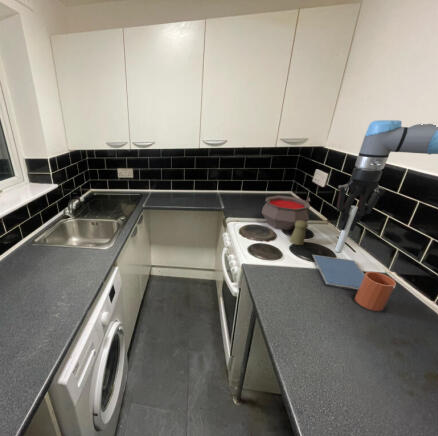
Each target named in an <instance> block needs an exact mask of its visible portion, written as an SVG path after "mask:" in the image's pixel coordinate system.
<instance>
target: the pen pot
mask: <svg viewBox="0 0 438 436" xmlns="http://www.w3.org/2000/svg"><path fill="white" fill-rule="evenodd" d="M364 274H365V275H364V277H363V279H362V282H361V284H360V286H359V289H358V291H356V294H355V296H354V301H355V302H356V303H357V304H358V305H359V306H361V307H363V308H364V309H367V310H370V311H374V312H381V311H383V310H384V309H385V307H386V305H387V303H388V301H389V299H390V298H391V296H392V293H393V292H394V290H395V288H396V286H397V281H395V280H394V279H393V278H391V277H390V276H389V275H386V274H383V273H381V272H376V271H366V272H364Z"/></svg>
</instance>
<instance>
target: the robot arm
mask: <svg viewBox="0 0 438 436" xmlns="http://www.w3.org/2000/svg"><path fill="white" fill-rule="evenodd" d="M402 123H403V122H402V120H395V119H392V120H390V119H387V120H386V119H383V120H382V119H380V120H373V121H371V122H370V123H369V124H368V127H367V129H366V131H365V134H364V137H363V140H362V143H361V146H360V149H359V152H358V155H357V158H356V160H355V164H354V168H353V169H352V173H351V175H350V179H349V181H347V183H346V184H343V185H342V184H339V185H337V189H338V196H337V197H338V198H337V202H336V211H338V212H339V213H340V215H339V221H340V224H339V226H338V228H339V229H340V230H341V231H342V230H344V229H345V226H346V224H347V221H348V218H349V214H348V211H349V209H350V208H351V206H353V203H354V201H355V200H356V198H357V197H358V196H359V200H358V203H357V207H358V209H357V212H356V214H355V217H354V220H353V222H352V225H351V228H350V230H349V232H350V231H351V232H354V230H355V228H356V225H357V224H359V223H360V222H361V219H362V217H364V216H365V215H370V214H371V213H372V211H373V209H374V208H375V206H376V204H377V203H378V201H379V199H380V197H381V196H382V195H383V194H384V193H386V191H387V190H386V189H385V188H383V187H380V186H379V182H380V179H381V176H382V174H383V169H384V168H385V166H386V165H387V164H386V163H387V161H388V159H389V157H390V153H409V154H425V155H438V127H436V125H433V124H431V123H418V124H414V125H411V126H409V127H408V126H402ZM421 124H423V125H421ZM348 189H349V193H348V196H347V198H346V191H347V190H348ZM370 194H371V195H370ZM345 199H346V200H345Z"/></svg>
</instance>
